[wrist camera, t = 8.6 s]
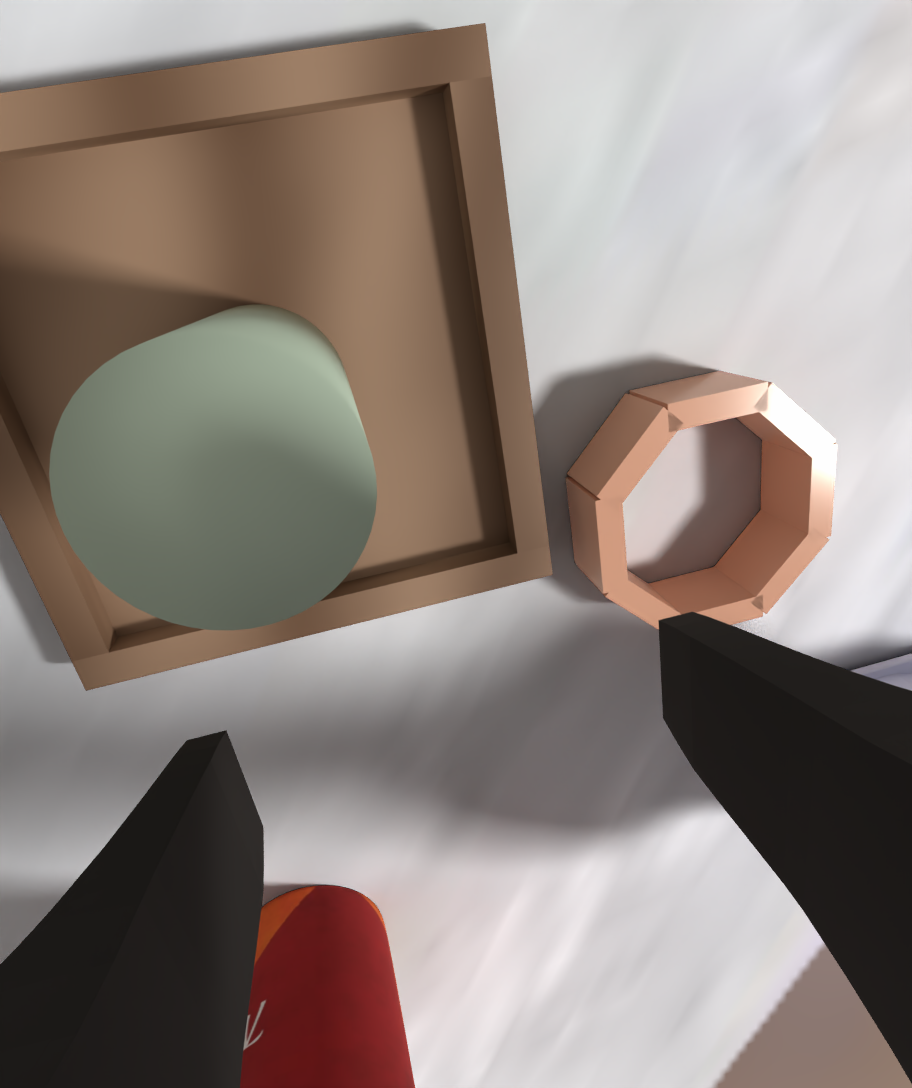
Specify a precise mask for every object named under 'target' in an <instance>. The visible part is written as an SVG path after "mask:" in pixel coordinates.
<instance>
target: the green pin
mask: <svg viewBox="0 0 912 1088" xmlns="http://www.w3.org/2000/svg"><path fill="white" fill-rule="evenodd" d="M49 477H50V488H51V496H52V500H53V504H54V508H55V512H56V515H57V518H58V520H59V523H60V525H61V528H62V530H63V533H64V535H65V537H66V538H67V540H68V542H69V544H70V545H71V547H72V549H73V551H74V552H75V553H76V555H77V556H78V557H79V559H80V560H81V561H82V563H83V564H84V565H85V567H86V568H87V569H88V570H89V571H90V572H91V573H92V574H93V575H94V576H95V577H96V578H97V579H98V580H99V581H100V582H101V583H102V584H103V585H104V586H105V587H107V588H108V589H109V590H110V591H112V592H113V593H114V594H115V595H116V596H118V597H119V598H121V599H123V600H124V601H126V602H127V603H129V604H131V605H132V606H134V607H135V608H137V609H140V610H142V611H144V612H146V613H148V614H150V615H152V616H154V617H157V618H160V619H163V620H165V621H168V622H171V623H175V624H179V625H183V626H187V627H191V628H199V629H207V630H242V629H251V628H256V627H261V626H266V625H270V624H273V623H276V622H279V621H282V620H285V619H288V618H290V617H292V616H294V615H297V614H299V613H301V612H303V611H305V610H307V609H308V608H310V607H311V606H313V605H315V604H316V603H318V602H319V601H321V600H322V599H323V598H324V597H326V596H327V595H328V594H329V593H331V592H332V591H333V590H334V589H335V588H336V587H337V586H338V585H339V584H340V583H341V582H342V581H343V580H344V579H345V578H346V576H347V575H348V574H349V572H350V571H351V570H352V568H353V567H354V565H355V564H356V563H357V561H358V559H359V557H360V555H361V554H362V552H363V550H364V548H365V546H366V543H367V541H368V538H369V535H370V533H371V530H372V526H373V521H374V517H375V512H376V501H377V483H376V473H375V467H374V462H373V457H372V454H371V451H370V447H369V444H368V441H367V438H366V435H365V432H364V429H363V426H362V422H361V419H360V416H359V413H358V410H357V407H356V404H355V400H354V397H353V394H352V391H351V388H350V385H349V382H348V378H347V375H346V372H345V369H344V366H343V363H342V361H341V359H340V357H339V355H338V353H337V351H336V349H335V348H334V346H333V345H332V343H331V342H330V341H329V339H328V338H327V337H326V336H325V335H324V334H323V333H322V332H321V331H320V330H319V329H318V328H317V327H316V326H315V325H313V324H312V323H311V322H309V321H308V320H307V319H305V318H303V317H301V316H300V315H298V314H296V313H294V312H291V311H289V310H286V309H283V308H279V307H275V306H270V305H262V304H251V305H243V306H237V307H234V308H230V309H227V310H224V311H222V312H219V313H217V314H214V315H212V316H209V317H207V318H204V319H202V320H199V321H197V322H194V323H192V324H189V325H186V326H184V327H181V328H179V329H176V330H174V331H171V332H169V333H166V334H164V335H161V336H159V337H156V338H154V339H151V340H149V341H146V342H144V343H141V344H139V345H137V346H135V347H132V348H130V349H128V350H126V351H124V352H121V353H120V354H118V355H117V356H115V357H114V358H112V359H111V360H109V361H108V362H106V363H104V364H103V365H102V366H101V367H100V368H98V369H97V370H96V371H95V372H94V373H93V374H92V375H91V376H89V377H88V378H87V379H86V380H85V382H84V383H83V384H82V385H81V386H80V388H79V389H78V390H77V391H76V392H75V394H74V395H73V396H72V398H71V400H70V401H69V403H68V405H67V407H66V408H65V410H64V412H63V413H62V416H61V418H60V421H59V423H58V426H57V429H56V431H55V434H54V439H53V443H52V448H51V453H50V468H49Z"/></svg>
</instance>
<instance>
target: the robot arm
mask: <svg viewBox="0 0 912 1088" xmlns="http://www.w3.org/2000/svg"><path fill="white" fill-rule="evenodd" d="M658 621H659V641H660V662H661V682H662V703H663V719H664V720H665V722H666V724H667V725H668V727H669V729H670V731H671V732H672V734H673V736H674V738H675V739H676V741H677V743H678V745H679V746H680V748H681V750H682V751H683V753H684V754H685V756H686V758H687V759H688V761H689V762H690V764H691V766H692V767H693V769H694V770H695V772H696V773H697V774H698V776H699V777H700V778H701V779H702V781H703V782H704V783H705V785H706V786H707V787H708V788H709V790H710V791H711V792H712V794H713V795H714V796H715V797H716V799H717V800H718V801H719V803H720V804H721V805H722V806H723V808H724V809H725V810H726V812H727V813H728V814H729V815H730V817H731V818H732V819H733V820H734V822H735V823H736V824H737V825H738V827H739V828H740V829H741V830H742V832H743V833H744V834H745V835H746V837H747V838H748V839H749V841H750V842H751V843H752V844H753V846H754V847H755V848H756V849H757V851H758V852H759V853H760V854H761V856H762V857H763V858H764V859H765V861H766V862H767V863H768V865H769V866H770V867H771V868H772V870H773V871H774V872H775V873H776V875H777V876H778V877H779V878H780V880H781V881H782V882H783V883H784V885H785V886H786V888H787V889H788V890H789V892H790V893H791V894H792V896H793V897H794V899H795V900H796V901H797V903H798V904H799V905H800V907H801V908H802V909H803V911H804V912H805V914H806V915H807V917H808V918H809V920H810V921H811V923H812V925H813V926H814V928H815V929H816V931H817V932H818V934H819V935H820V937H821V938H822V940H823V941H824V943H825V944H826V946H827V948H828V949H829V951H830V952H831V954H832V955H833V957H834V958H835V960H836V961H837V963H838V964H839V966H840V967H841V969H842V971H843V972H844V974H845V975H846V976H847V978H848V980H849V982H850V983H851V985H852V986H853V988H854V990H855V991H856V993H857V994H858V996H859V998H860V999H861V1001H862V1003H863V1004H864V1006H865V1007H866V1009H867V1011H868V1012H869V1014H870V1015H871V1017H872V1019H873V1020H874V1022H875V1023H876V1025H877V1027H878V1028H879V1030H880V1031H881V1033H882V1035H883V1036H884V1038H885V1040H886V1041H887V1043H888V1044H889V1046H890V1048H891V1049H892V1051H893V1053H894V1054H895V1056H896V1058H897V1059H898V1061H899V1063H900V1064H901V1066H902V1068H903V1070H904V1071H905V1073H906V1075H907V1076H908V1078H909V1080H910V1081H911V1083H912V653H911V654H908V655H904V656H901V657H897V658H893V659H890V660H886V661H883V662H879V663H876V664H872V665H869V666H865V667H861V668H858V669H854V670H851V671H849V670H846V669H843V668H841V667H838V666H835V665H832V664H830V663H827V662H824V661H821V660H819V659H816V658H813V657H811V656H808V655H805V654H803V653H800V652H797V651H795V650H792V649H790V648H787V647H784V646H782V645H779V644H777V643H774V642H772V641H769V640H767V639H764V638H762V637H759V636H757V635H754V634H752V633H749V632H747V631H744V630H742V629H739V628H737V627H734V626H731V625H729V624H726V623H724V622H721V621H718V620H716V619H713V618H710V617H708V616H705V615H702V614H698V613H695V612H689V613H685V614H681V615H677V616H673V617H669V618H665V619H661V620H658ZM263 877H264V840H263V825H262V822H261V820H260V817H259V815H258V812H257V809H256V807H255V804H254V802H253V799H252V796H251V794H250V791H249V788H248V786H247V783H246V781H245V778H244V775H243V773H242V770H241V768H240V765H239V762H238V760H237V757H236V754H235V752H234V749H233V747H232V744H231V741H230V739H229V736H228V734H227V731H222V732H218V733H214V734H210V735H206V736H203V737H199V738H195V739H191V740H187V741H186V742H185V743H184V745H183V746H182V747H181V748H180V749H179V751H178V752H177V753H176V754H175V756H174V757H173V758H172V760H171V761H170V762H169V764H168V765H167V766H166V768H165V769H164V770H163V771H162V773H161V774H160V775H159V777H158V778H157V779H156V781H155V782H154V783H153V785H152V786H151V787H150V789H149V790H148V791H147V793H146V794H145V795H144V797H143V798H142V799H141V801H140V802H139V803H138V804H137V806H136V807H135V808H134V810H133V811H132V812H131V813H130V815H129V816H128V817H127V819H126V820H125V821H124V823H123V824H122V825H121V826H120V828H119V829H118V830H117V832H116V833H115V834H114V835H113V837H112V838H111V839H110V841H109V842H108V843H107V844H106V846H105V847H104V848H103V849H102V850H101V852H100V853H99V854H98V855H97V856H96V858H95V859H94V860H93V861H92V862H91V863H90V865H89V866H88V867H87V868H86V869H85V871H84V872H83V873H82V874H81V875H80V877H79V878H78V879H77V880H76V881H75V882H74V884H73V885H72V886H71V887H70V888H69V890H68V891H67V892H66V893H65V894H64V895H63V897H62V898H61V899H60V900H59V901H58V903H57V904H56V905H55V906H54V907H53V908H52V910H51V911H50V912H49V913H48V914H47V915H46V916H45V917H44V919H43V920H42V921H41V922H40V923H39V924H38V925H37V926H36V927H35V929H34V930H33V931H32V932H31V933H30V934H29V935H28V936H27V937H26V938H25V939H24V940H23V941H22V943H21V944H20V945H19V946H18V947H17V948H16V949H15V950H14V951H13V952H12V953H11V954H10V955H9V956H8V957H7V958H6V959H5V960H4V961H3V962H2V963H1V964H0V1088H240V1081H241V1070H242V1059H243V1048H244V1041H245V1033H246V1025H247V1017H248V1010H249V1002H250V994H251V986H252V979H253V971H254V963H255V956H256V948H257V940H258V932H259V923H260V915H261V907H262V898H263Z"/></svg>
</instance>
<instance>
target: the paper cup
mask: <svg viewBox="0 0 912 1088" xmlns="http://www.w3.org/2000/svg"><path fill="white" fill-rule="evenodd" d="M240 1088H415V1085H414V1079H413V1074H412V1068H411V1062H410V1057H409V1051H408V1045H407V1040H406V1034H405V1028H404V1023H403V1017H402V1012H401V1006H400V1001H399V995H398V990H397V984H396V979H395V973H394V968H393V963H392V957H391V952H390V947H389V942H388V937H387V933H386V929H385V924H384V921H383V918H382V915H381V913H380V911H379V909H378V908H377V906H376V905H375V904H374V903H373V902H372V901H371V900H370V899H369V898H368V897H366V896H365V895H363V894H361V893H359V892H357V891H355V890H352V889H349V888H345V887H340V886H330V885H320V886H310V887H304V888H300V889H296V890H293V891H290V892H287V893H285V894H283V895H281V896H278V897H277V898H275V899H273V900H271V901H270V902H268V903H267V904H266V905H264V906H263V907H262V908H261V915H260V923H259V932H258V940H257V948H256V956H255V963H254V971H253V979H252V986H251V994H250V1002H249V1010H248V1017H247V1025H246V1033H245V1041H244V1048H243V1059H242V1070H241V1081H240Z"/></svg>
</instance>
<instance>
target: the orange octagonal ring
mask: <svg viewBox="0 0 912 1088" xmlns="http://www.w3.org/2000/svg"><path fill="white" fill-rule="evenodd" d="M629 393H630V394H627V393H625V394H624V396H623V397H622V399H621V400H620V401H619V403H618V404H617V405H616V407H615V408H614V410H613V411H612V412H611V414H610V415H609V416H608V418H607V419H606V421H605V422H604V423H603V425H602V426H601V427H600V429H599V430H598V431H597V433H596V434H595V436H594V437H593V438H592V440H591V441H590V442H589V444H588V445H587V447H586V448H585V449H584V451H583V452H582V453H581V455H580V456H579V458H578V459H577V460H576V462H575V463H574V464H573V466H572V467H571V469H570V470H569V471H568V473H567V474H568V475H569V476H571V477H567V478H566V486H567V495H568V505H569V514H570V523H571V533H572V542H573V552H574V561H575V563H576V564H577V566H578V568H579V569H580V570H581V571H582V572H583V573H584V574H585V575H586V576H587V577H588V578H589V580H590V581H591V582H592V583H593V584H594V585H595V586H596V587H597V588H598V589H599V590H600V592H601V593H602V594H603V595H604V596H605V597H606V598H608V599H610V600H611V601H613V602H614V603H616V604H618V605H619V606H621V607H623V608H624V609H626V610H627V611H629V612H631V613H632V614H634V615H635V616H637V617H639V618H640V619H642V620H643V621H645V622H647V623H648V624H650V625H652V626H653V627H655V628H656V629H658V630H659V621H658V620H661V619H665V618H669V617H673V616H677V615H681V614H685V613H689V612H695V613H698V614H702V615H705V616H708V617H710V618H713V619H716V620H718V621H721V622H724V623H726V624H729V625H732V624H736V623H740V622H743V621H747V620H751V619H755V618H758V617H762V616H763V612H764V613H766V614H767V613H768V611H769V610H770V609H771V608H772V607H773V606H774V604H775V603H776V602H777V601H778V600H779V598H780V597H781V596H782V595H783V594H784V593H785V591H786V590H787V589H788V588H789V587H790V585H791V584H792V583H793V582H794V581H795V580H796V578H797V577H798V576H799V575H800V574H801V573H802V571H803V570H804V569H805V568H806V567H807V565H808V564H809V563H810V562H811V561H812V560H813V558H814V557H815V556H816V555H817V554H818V552H819V551H820V550H821V549H822V548H823V547H824V545H825V544H826V543H827V542H828V541H829V539H828V538H826V537H828V536H831V528H832V514H833V499H834V484H835V470H836V455H837V444H836V443H834V442H835V441H836V440H835V439H834V438H833V437H832V436H831V435H830V434H829V433H827V432H826V431H825V430H824V429H823V428H822V427H821V426H820V425H819V424H817V423H816V422H815V421H814V420H813V419H812V418H811V417H810V416H809V415H807V414H806V413H805V412H804V411H803V410H802V409H801V408H800V407H799V406H798V405H796V404H795V403H794V402H793V401H792V400H791V399H790V398H789V397H788V396H786V395H785V394H784V393H783V392H782V391H781V390H780V389H779V388H778V387H776V386H775V385H774V384H773V383H771V382H767V381H763V380H758V379H754V378H749V377H745V376H740V375H736V374H732V373H727V372H723V371H716V372H712V373H707V374H703V375H698V376H693V377H689V378H684V379H680V380H675V381H670V382H666V383H661V384H657V385H652V386H647V387H643V388H638V389H634V390H629ZM731 418H737V419H738V420H739V421H740V422H741V423H743V424H744V425H745V426H746V427H747V428H749V429H750V430H751V431H752V432H753V433H754V434H756V435H757V436H758V437H759V438H760V439H762V466H761V510H760V511H759V512H758V513H757V515H756V516H755V517H754V518H753V520H752V521H751V522H750V523H749V524H748V526H747V527H746V528H745V529H744V531H743V532H742V533H741V534H740V536H739V537H738V538H737V539H736V540H735V542H734V543H733V544H732V545H731V547H730V548H729V549H728V550H727V552H726V553H725V554H724V555H723V556H722V558H721V559H720V560H719V561H718V563H717V564H716V565H715V566H714V567H711V568H707V569H703V570H699V571H696V572H692V573H688V574H684V575H680V576H676V577H672V578H668V579H664V580H660V581H656V582H652V583H647V582H645V581H644V580H642V579H641V578H639V577H637V576H636V575H634V574H633V573H631V572H630V571H628V570H627V561H626V547H625V533H624V519H623V505H622V503H623V502H624V500H625V499H626V498H627V497H628V495H629V494H630V493H631V491H632V490H633V489H634V487H635V486H636V485H637V483H638V482H639V481H640V479H641V478H642V477H643V475H644V474H645V473H646V471H647V470H648V469H649V468H650V466H651V465H652V464H653V462H654V461H655V460H656V458H657V457H658V456H659V454H660V453H661V452H662V450H663V449H664V448H665V446H666V445H667V444H668V442H669V441H670V440H671V438H672V437H673V436H674V435H675V433H676V432H677V431H678V430H682V429H686V428H691V427H695V426H700V425H704V424H709V423H713V422H717V421H722V420H726V419H731Z"/></svg>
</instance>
